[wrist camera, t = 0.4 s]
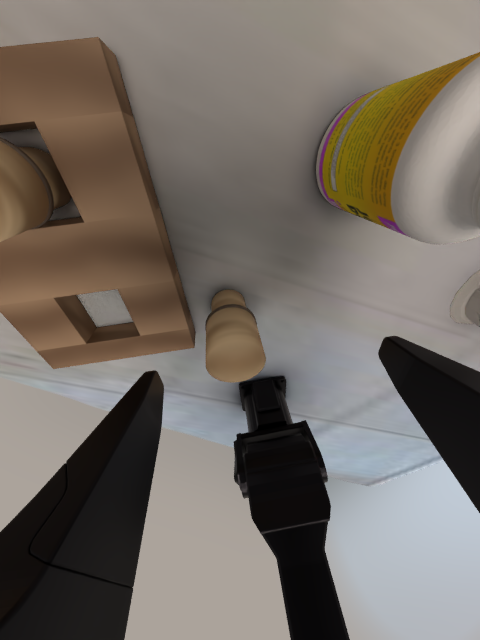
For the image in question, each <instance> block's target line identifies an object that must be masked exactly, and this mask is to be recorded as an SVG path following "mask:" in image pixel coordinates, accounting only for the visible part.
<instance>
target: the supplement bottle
mask: <svg viewBox="0 0 480 640" xmlns="http://www.w3.org/2000/svg"><path fill="white" fill-rule="evenodd" d="M316 177H317V182H318V186H319V189H320V191H321V193H322V195H323V196H324V198H325V199H326V200H327V201H328V202H329V203H330V204H332V205H333V206H335V207H338V208H340V209H342V210H344V211H347V212H349V213H352V214H354V215H357V216H359V217H362V218H364V219H367V220H369V221H371V222H374V223H376V224H379V225H381V226H384V227H386V228H389V229H392V230H394V231H396V232H399V233H401V234H404V235H406V236H408V237H411V238H413V239H416V240H418V241H421V242H425V243H430V244H453V243H458V242H462V241H466V240H470V239H473V238H476V237H478V236H480V52H479V53H476V54H474V55H471V56H468V57H466V58H463V59H460V60H458V61H455V62H452V63H449V64H447V65H444V66H441V67H439V68H436V69H433V70H430V71H427V72H425V73H422V74H419V75H417V76H414V77H411V78H408V79H405V80H403V81H400V82H397V83H394V84H391V85H389V86H386V87H383V88H380V89H377V90H375V91H373V92H370V93H368V94H365V95H363V96H361V97H359V98H357V99H355V100H354V101H352V102H351V103H350V104H348V105H347V106H346V107H345V108H344V109H343V110H342V111H341V112H340V113H339V114H338V115H337V116H336V117H335V119H334V120H333V121H332V123H331V124H330V126H329V127H328V129H327V131H326V133H325V135H324V137H323V139H322V142H321V145H320V148H319V151H318V156H317V162H316Z"/></svg>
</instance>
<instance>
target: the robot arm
mask: <svg viewBox="0 0 480 640" xmlns="http://www.w3.org/2000/svg"><path fill="white" fill-rule="evenodd" d="M378 354H379V358H380V360H381V362H382V364H383V366H384V367H385V369H386V371H387V373H388V375H389V377H390V379H391V380H392V382H393V384H394V386H395V388H396V389H397V391H398V393H399V394H400V396H401V397H402V399H403V400H404V402H405V403H406V405H407V406H408V408H409V409H410V411H411V412H412V414H413V415H414V417H415V418H416V420H417V421H418V423H419V424H420V426H421V427H422V428H423V430H424V431H425V433H426V434H427V436H428V437H429V439H430V440H431V442H432V443H433V445H434V446H435V448H436V449H437V451H438V452H439V454H440V455H441V457H442V458H443V460H444V461H445V463H446V464H447V465H448V467H449V468H450V470H451V471H452V473H453V474H454V476H455V477H456V479H457V480H458V482H459V483H460V485H461V486H462V488H463V489H464V491H465V492H466V493H467V495H468V496H469V498H470V500H471V501H472V502H473V504H474V505H475V507H476V508H477V510H478V511H479V513H480V372H479V371H476V370H474V369H472V368H469V367H467V366H465V365H463V364H460V363H458V362H456V361H453V360H451V359H449V358H446V357H444V356H442V355H439V354H437V353H435V352H433V351H430V350H428V349H426V348H423V347H421V346H419V345H416V344H414V343H412V342H409V341H407V340H405V339H403V338H400V337H398V336H390V337H385V338H384V339H383V341H382V344H381V347H380V349H379V353H378ZM239 390H240V396H241V402H242V408H243V411H246V417H247V424H248V431H249V432H248V433H243V434H241V433H239V434H237V440H236V441H234V450H235V467H234V479H235V482H236V483H237V484H238V485H239V486H240V489H241V491H242V495H243V497H244V498H249V504H250V510H251V516H252V519H253V521H254V523H255V524H256V526H257V528H258V530H259V531H260V533H261V534H262V536H263V537H264V539H265V541H266V542H267V544H268V545H269V547H270V548H271V550H272V552H273V553H274V555H275V557H276V559H277V563H278V569H279V574H280V580H281V586H282V592H283V597H284V603H285V609H286V614H287V620H288V625H289V631H290V637H291V640H350V639H349V635H348V632H347V628H346V625H345V621H344V618H343V614H342V611H341V607H340V603H339V600H338V597H337V593H336V589H335V585H334V582H333V578H332V575H331V571H330V568H329V564H328V560H327V557H326V553H325V540H326V532H327V525H328V521H329V520H330V508H331V505H330V501H329V497H328V494H327V490H326V487H325V484H324V483H325V482H327V481H328V478H327V472H326V468H325V464H324V461H323V458H322V455H321V452H320V450H319V448H318V446H317V443H316V441H315V439H314V437H313V435H312V433H311V431H310V428H309V426H308V424H307V422H306V420H304V421H301V422H298V423H293V422H292V419H291V416H290V413H289V410H288V406H287V403H286V400H285V393H286V379H285V377H283V376H282V377H275V378H269V379H263V380H256V381H250V382H244V383H240V384H239ZM163 395H164V386H163V383H162V380H161V378H160V376H159V374H158V372H157V371H148V372H145V373H144V374H143V375H142V376H141V377H140V378H139V379H138V381H137V382H136V383H135V384H134V385H133V386H132V387H131V389H130V390H129V391H128V392H127V393H126V394H125V395H124V396H123V398H122V399H121V400H120V401H119V402H118V403H117V404H116V406H115V407H114V408H113V409H112V410H111V411H110V412H109V414H108V415H107V416H106V417H105V418H104V419H103V420H102V421H101V423H100V424H99V425H98V426H97V427H96V428H95V430H94V431H93V432H92V433H91V434H90V435H89V436H88V437H87V439H86V440H85V441H84V442H83V443H82V444H81V445H80V446H79V448H78V449H77V450H76V451H75V452H74V453H73V454H72V456H71V457H70V458H69V459H68V460H67V462H66V463H65V464H64V465H63V466H62V467H61V468H60V469H59V470H58V472H56V474H55V475H54V476H53V477H52V478H51V479H50V481H48V483H47V484H46V485H45V486H44V487H43V488H42V489H41V490H40V491H39V492H38V494H37V495H36V496H35V497H34V498H33V499H32V500H31V501H30V502H29V503H28V504H27V505H26V506H25V507H24V508H23V509H22V510H21V511H20V512H19V513H18V515H17V516H16V517H15V518H14V519H13V520H12V521H11V522H10V523H9V524H8V525H7V526H6V527H5V528H4V529H3V530H2V531H1V532H0V640H124V638H125V632H126V626H127V621H128V615H129V610H130V604H131V598H132V593H133V588H132V587H133V586H134V580H135V575H136V569H137V564H138V557H139V552H140V546H141V541H142V535H143V530H144V524H145V518H146V513H147V507H148V501H149V496H150V490H151V484H152V478H153V473H154V467H155V462H156V456H157V450H158V444H159V439H160V433H161V425H162V411H163Z"/></svg>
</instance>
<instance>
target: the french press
mask: <svg viewBox="0 0 480 640" xmlns="http://www.w3.org/2000/svg"><path fill="white" fill-rule="evenodd" d="M450 317H451V318H452V319H453V320H454V321H455V322H457V323H464V324H476V325H478V326H479V327H480V270H479V271H478V272H477V273H475V274H474V275H473V276H471V277H470V278H469V279H468V280H467V282H466V283H465V284H464V285H463V286H462V287H461V288H460V290H459V291H458V292H457V293H456V295H455V297H454V299H453V301H452V303H451V305H450Z"/></svg>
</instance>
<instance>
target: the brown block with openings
mask: <svg viewBox="0 0 480 640" xmlns="http://www.w3.org/2000/svg"><path fill="white" fill-rule="evenodd" d="M35 128H38V130H39V132H40V134H41V136H42V138H43V140H44V142H45V144H46V146H47V148H48V150H49V152H50V154H51V155H50V154H48V153H46V152H44V151H42V150H40V149H37V148H32V147H17V146H15V145H14V144H12V143H11V142H9V141H7V140H5V139H3V138H1V137H0V312H1V313H2V314H3V315H4V317H5V318H6V319H7V320H8V321H9V322H10V323H11V324H12V325H13V326H14V327H15V328H16V329H17V330H18V332H19V333H20V334H21V335H22V336H23V337H24V338H25V339H26V340H27V341H28V342H29V343H30V344H31V346H32V347H33V348H34V349H35V350H36V351H37V352H38V353H39V354H40V355H41V356H42V357H43V358H44V360H45V361H46V362H47V363H48V364H49V365H50V366H51V367H52V368H53V369H56V368H63V367H70V366H76V365H83V364H89V363H96V362H103V361H109V360H116V359H123V358H129V357H136V356H142V355H149V354H156V353H162V352H169V351H176V350H182V349H189V348H194V347H195V333H196V332H195V329H194V325H193V322H192V318H191V315H190V311H189V308H188V305H187V301H186V298H185V294H184V291H183V287H182V284H181V280H180V277H179V273H178V270H177V266H176V263H175V260H174V256H173V253H172V249H171V246H170V242H169V239H168V235H167V232H166V228H165V225H164V221H163V218H162V215H161V211H160V208H159V204H158V201H157V197H156V194H155V190H154V187H153V183H152V180H151V176H150V173H149V170H148V166H147V163H146V159H145V156H144V152H143V149H142V145H141V142H140V138H139V135H138V131H137V128H136V124H135V121H134V118H133V114H132V111H131V107H130V104H129V100H128V97H127V93H126V90H125V86H124V83H123V79H122V76H121V73H120V69H119V66H118V62H117V59H116V55H115V54H114V53H113V52H112V51H111V50H110V49H109V48H108V47H107V46H106V45H105V44H104V43H103V42H102V41H101V40H100V38H99V37H95V38H85V39H75V40H65V41H56V42H46V43H36V44H26V45H16V46H6V47H0V132H9V131H18V130H27V129H35ZM71 197H72V198H73V200H74V202H75V204H76V206H77V208H78V210H79V213H80V215H81V217H76V218H68V219H61V220H53V221H48V220H49V219H50V218H51V216H52V213H53V210H54V209H56V208H58V207H61V206H64V205H66V204H67V203H68V202H69V201H70V199H71ZM113 289H118V291H119V293H120V295H121V297H122V299H123V301H124V303H125V305H126V307H127V309H128V311H129V314H130V316H131V318H132V320H133V322H132V323H125V324H118V325H111V326H104V327H96V326H95V324H94V323H93V321H92V320H91V318H90V316H89V315H88V313H87V312H86V310H85V309H84V307H83V305H82V304H81V302H80V301H79V299H78V298H77V296H76V295H78V294H85V293H92V292H99V291H106V290H113Z"/></svg>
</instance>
